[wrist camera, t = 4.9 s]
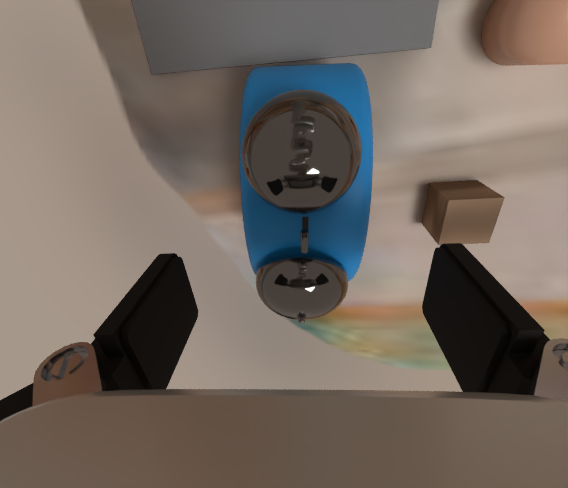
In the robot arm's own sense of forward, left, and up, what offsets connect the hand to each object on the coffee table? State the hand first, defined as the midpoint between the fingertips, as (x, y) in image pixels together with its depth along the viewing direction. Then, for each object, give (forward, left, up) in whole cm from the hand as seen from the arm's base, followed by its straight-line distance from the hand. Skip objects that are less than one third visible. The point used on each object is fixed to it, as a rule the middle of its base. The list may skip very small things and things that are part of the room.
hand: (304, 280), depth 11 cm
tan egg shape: (-8, +15, -16) cm, 24 cm away
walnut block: (+5, +13, -17) cm, 22 cm away
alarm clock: (-1, 0, -17) cm, 17 cm away
